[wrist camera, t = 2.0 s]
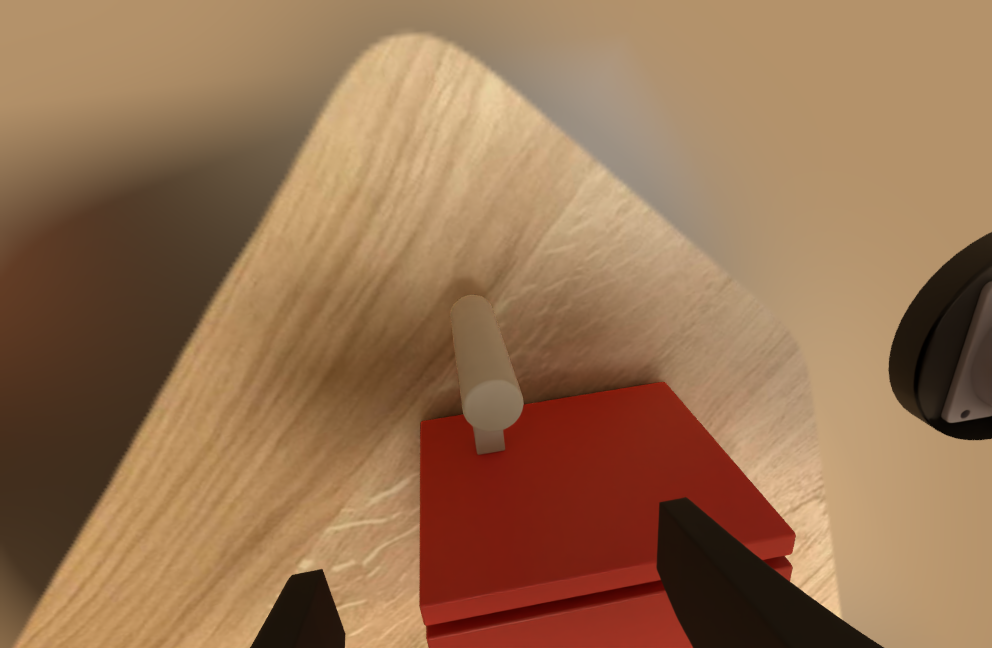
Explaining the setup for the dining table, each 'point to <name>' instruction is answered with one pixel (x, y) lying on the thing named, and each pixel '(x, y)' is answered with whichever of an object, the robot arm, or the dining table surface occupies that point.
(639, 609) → the cabinet
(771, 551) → the red cabinet door
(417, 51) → the dining table surface
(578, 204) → the dining table surface
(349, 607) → the dining table surface
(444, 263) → the dining table surface
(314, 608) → the robot arm
